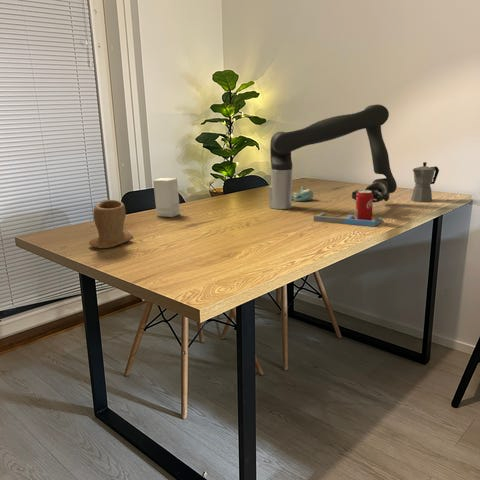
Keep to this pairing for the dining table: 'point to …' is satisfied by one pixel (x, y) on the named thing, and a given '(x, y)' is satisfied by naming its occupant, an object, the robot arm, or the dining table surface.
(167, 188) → the skincare box
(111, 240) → the brown hollow piece
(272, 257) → the dining table surface
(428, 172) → the coffeepot
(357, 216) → the beverage can
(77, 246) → the dining table surface
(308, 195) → the stuffed animal
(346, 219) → the e-shaped bracket
